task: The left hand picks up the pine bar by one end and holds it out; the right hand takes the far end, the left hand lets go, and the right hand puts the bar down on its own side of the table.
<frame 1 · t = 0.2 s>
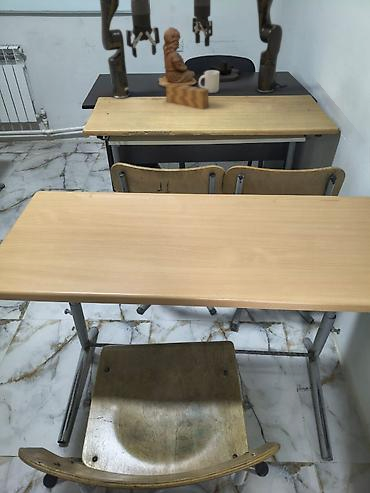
left hand: (144, 56, 157), 29 cm above the table, tool pointing down, fingers open, 8 cm apart
right hand: (202, 44, 171), 29 cm above the table, tool pointing down, fingers open, 8 cm apart
mug: (208, 91, 208), on the table
sculpture: (177, 82, 224), on the table
bar: (187, 103, 193), on the table
abstract sculpture: (221, 77, 231), on the table
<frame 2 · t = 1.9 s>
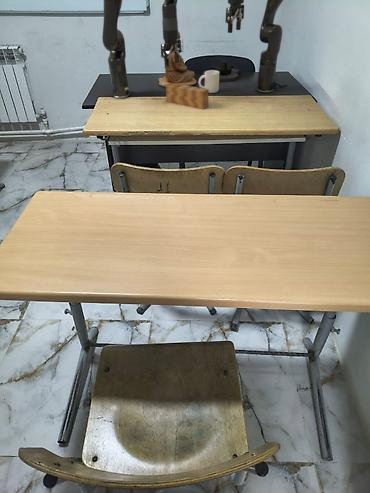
left hand: (172, 64, 185), 19 cm above the table, tool pointing down, fingers open, 8 cm apart
right hand: (234, 31, 176), 33 cm above the table, tool pointing down, fingers open, 8 cm apart
nothing on the table moved.
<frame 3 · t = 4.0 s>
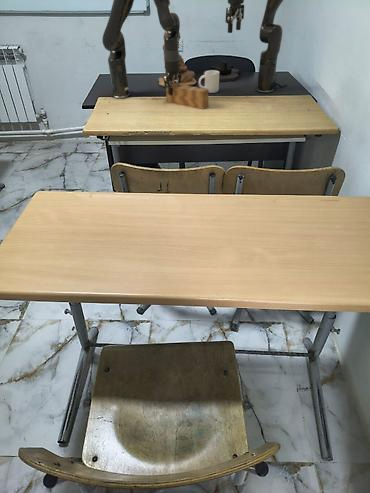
left hand: (173, 93, 195), 4 cm above the table, tool pointing down, fingers closed on bar, 4 cm apart
right hand: (234, 31, 176), 33 cm above the table, tool pointing down, fingers open, 8 cm apart
bar: (187, 103, 193), on the table, touching left hand
everything else where it was.
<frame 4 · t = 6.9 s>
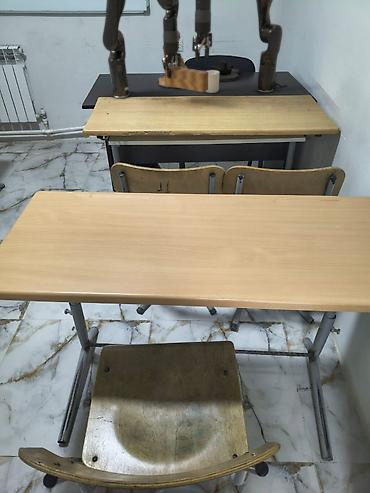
left hand: (172, 76, 189), 13 cm above the table, tool pointing down, fingers closed on bar, 4 cm apart
right hand: (202, 59, 175), 23 cm above the table, tool pointing down, fingers open, 8 cm apart
bar: (186, 87, 188), point 8 cm above the table, touching left hand
everything else where it was.
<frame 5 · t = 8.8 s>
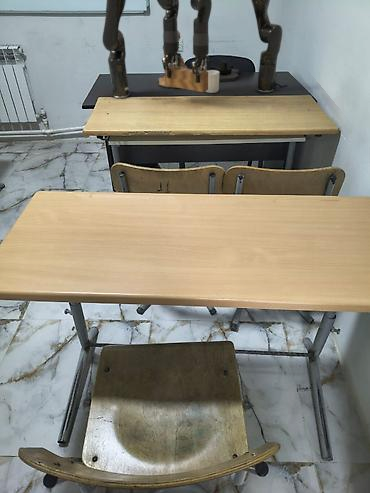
left hand: (172, 76, 189), 13 cm above the table, tool pointing down, fingers closed on bar, 4 cm apart
right hand: (200, 81, 181), 13 cm above the table, tool pointing down, fingers closed on bar, 4 cm apart
bar: (186, 87, 188), point 8 cm above the table, touching left hand, right hand
everything else where it was.
when the left hand's fingers open (13 cm above the table, at t = 9.9 s): bar stays where it is, held by the right hand.
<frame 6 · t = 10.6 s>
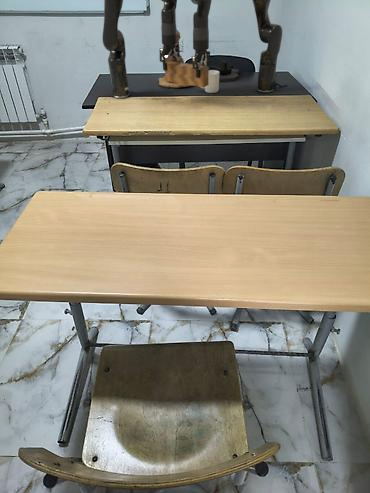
left hand: (170, 68, 187), 17 cm above the table, tool pointing down, fingers open, 8 cm apart
right hand: (201, 76, 180), 15 cm above the table, tool pointing down, fingers closed on bar, 4 cm apart
bar: (186, 82, 187), point 11 cm above the table, touching right hand
everything else where it was.
when the right hand's fingers open (6 cm above the table, at t = 13.8 s): bar drops 1 cm, on the table.
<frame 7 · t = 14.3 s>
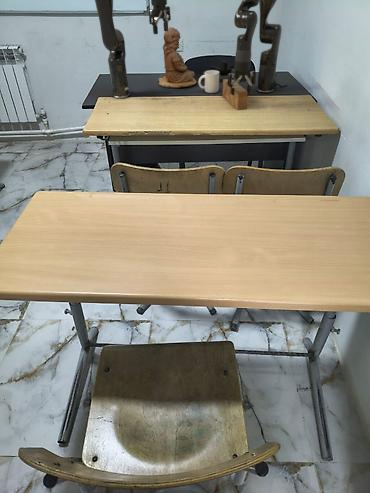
left hand: (161, 32, 179), 33 cm above the table, tool pointing down, fingers open, 8 cm apart
right hand: (240, 94, 183), 7 cm above the table, tool pointing down, fingers open, 8 cm apart
bar: (233, 101, 194), on the table
everything else where it was.
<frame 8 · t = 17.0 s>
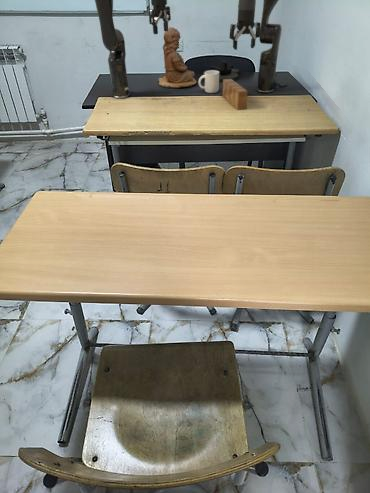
left hand: (161, 32, 179), 33 cm above the table, tool pointing down, fingers open, 8 cm apart
right hand: (243, 48, 170), 27 cm above the table, tool pointing down, fingers open, 8 cm apart
nothing on the table moved.
at the end: bar inside the target area (8.8 cm from its centre), on the table; the left hand is holding nothing; the right hand is holding nothing; bar at rest at the end (0.0 cm/s) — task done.
